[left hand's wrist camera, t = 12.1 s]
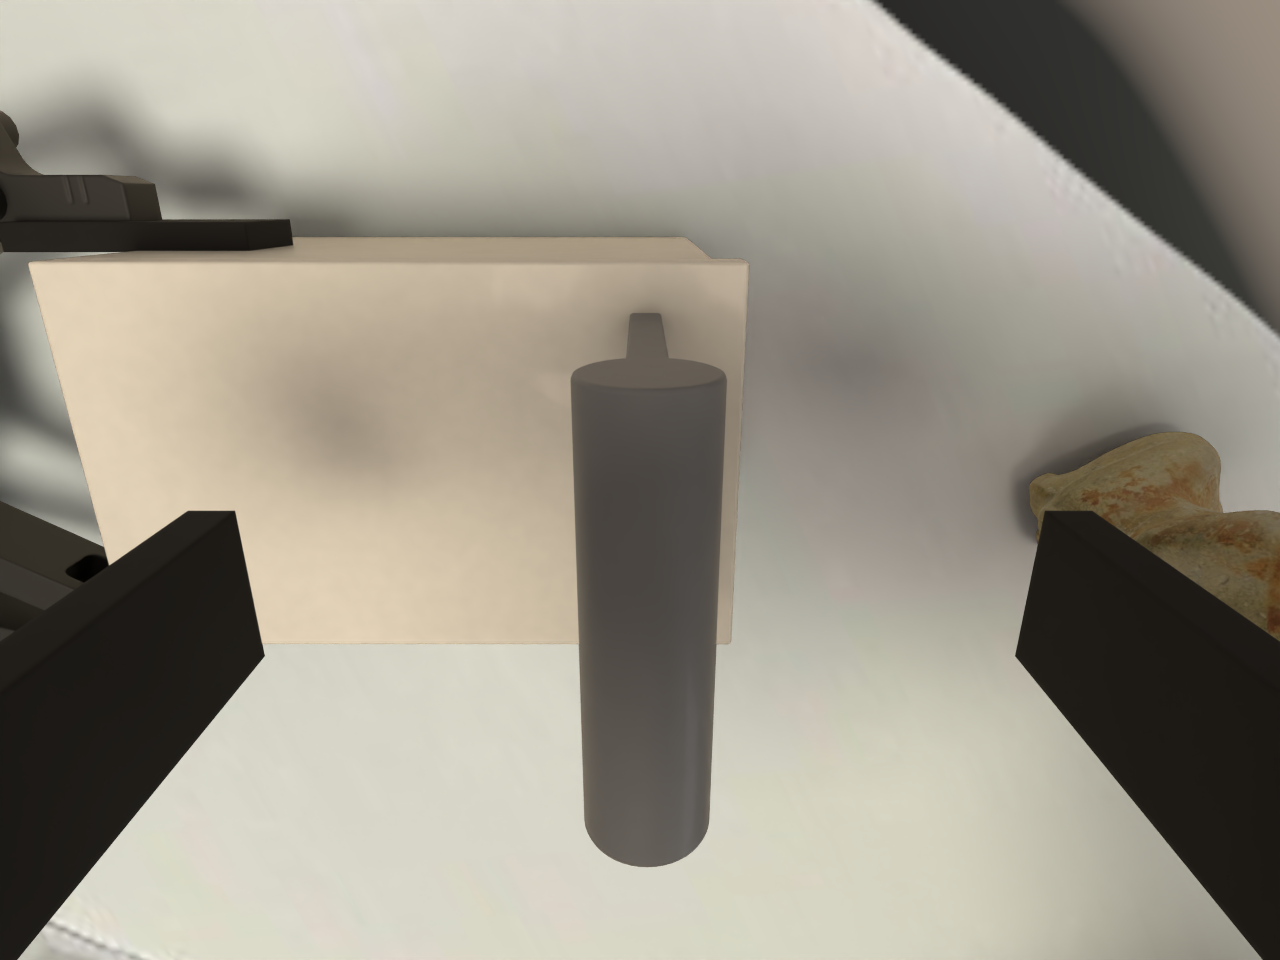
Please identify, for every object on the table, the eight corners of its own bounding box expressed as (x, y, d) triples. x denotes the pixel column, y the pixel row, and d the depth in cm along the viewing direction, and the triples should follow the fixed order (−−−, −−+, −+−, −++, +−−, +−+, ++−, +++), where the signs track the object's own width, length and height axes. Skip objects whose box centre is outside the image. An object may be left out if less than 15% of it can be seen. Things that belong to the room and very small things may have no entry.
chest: (686, 236, 28) (713, 258, 18) (681, 485, 31) (701, 623, 21) (273, 237, 28) (61, 257, 18) (312, 485, 31) (153, 623, 21)
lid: (743, 258, 17) (840, 313, 9) (727, 624, 21) (785, 913, 12) (59, 258, 17) (-483, 312, 9) (152, 624, 21) (-179, 912, 12)
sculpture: (1192, 532, 31) (1638, 802, 17) (1016, 577, 32) (1309, 870, 18) (1184, 401, 30) (1680, 585, 15) (998, 452, 30) (1309, 671, 16)
